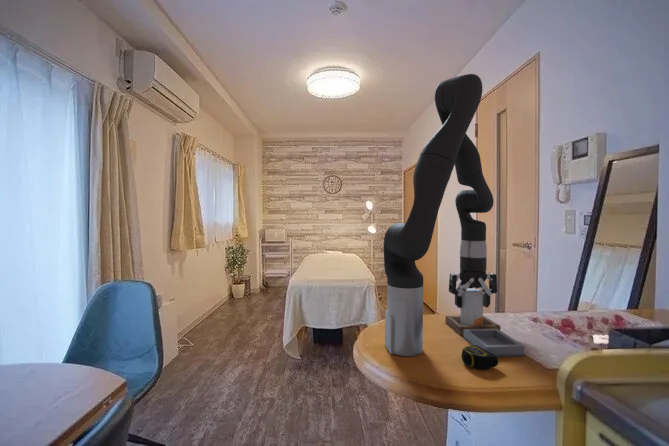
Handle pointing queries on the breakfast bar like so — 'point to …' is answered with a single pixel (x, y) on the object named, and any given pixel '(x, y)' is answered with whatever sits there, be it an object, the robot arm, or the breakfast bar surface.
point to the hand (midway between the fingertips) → (472, 307)
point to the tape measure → (478, 358)
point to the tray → (494, 342)
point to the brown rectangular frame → (459, 329)
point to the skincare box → (472, 307)
